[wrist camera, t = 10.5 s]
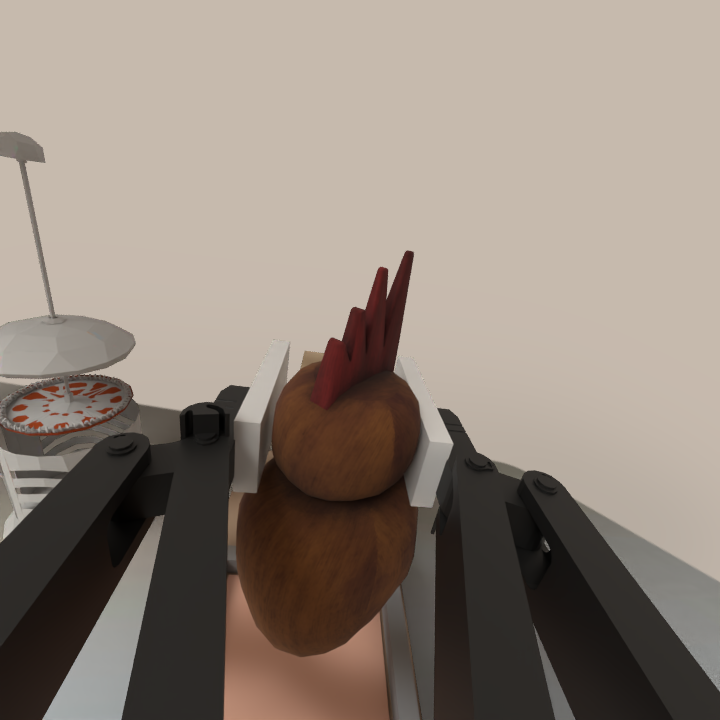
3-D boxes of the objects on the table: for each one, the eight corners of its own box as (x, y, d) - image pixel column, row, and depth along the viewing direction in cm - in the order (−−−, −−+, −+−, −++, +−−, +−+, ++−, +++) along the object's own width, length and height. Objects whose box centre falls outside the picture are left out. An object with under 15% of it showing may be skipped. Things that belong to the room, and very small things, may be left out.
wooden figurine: (343, 522, 19) (402, 243, 13) (413, 620, 15) (542, 282, 9) (216, 579, 15) (220, 220, 10) (264, 732, 11) (323, 270, 5)
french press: (162, 540, 26) (127, 152, 15) (-68, 598, 20) (-354, 59, 10) (163, 453, 33) (140, 156, 23) (-4, 478, 28) (-129, 105, 18)
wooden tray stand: (437, 923, 14) (617, 754, 8) (78, 942, 12) (-62, 752, 6) (378, 477, 35) (412, 340, 29) (247, 464, 34) (254, 318, 28)
